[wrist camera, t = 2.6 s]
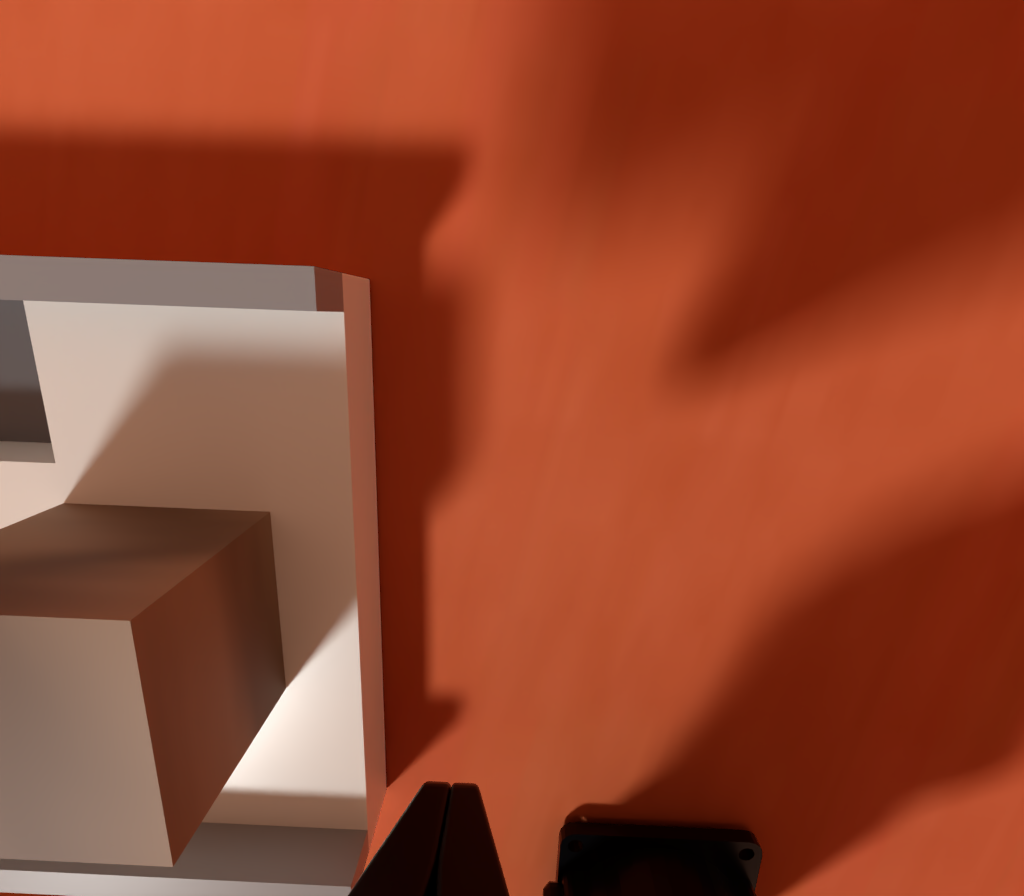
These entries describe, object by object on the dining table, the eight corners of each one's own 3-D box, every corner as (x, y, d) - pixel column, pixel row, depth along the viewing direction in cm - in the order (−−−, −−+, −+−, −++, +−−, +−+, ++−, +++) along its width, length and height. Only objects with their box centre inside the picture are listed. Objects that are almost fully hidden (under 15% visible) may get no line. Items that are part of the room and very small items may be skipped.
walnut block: (270, 511, 12) (130, 621, 8) (285, 688, 13) (173, 866, 9) (63, 503, 12) (-190, 606, 8) (98, 680, 14) (-103, 853, 9)
